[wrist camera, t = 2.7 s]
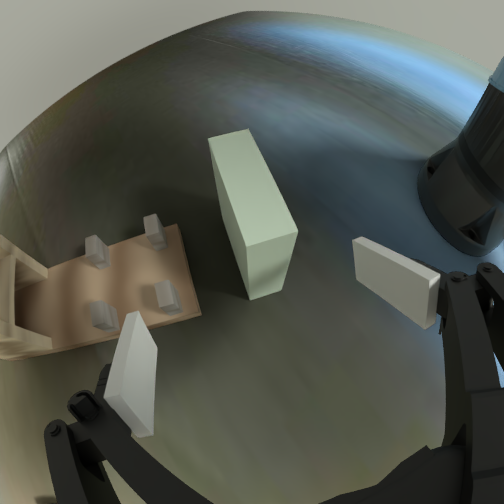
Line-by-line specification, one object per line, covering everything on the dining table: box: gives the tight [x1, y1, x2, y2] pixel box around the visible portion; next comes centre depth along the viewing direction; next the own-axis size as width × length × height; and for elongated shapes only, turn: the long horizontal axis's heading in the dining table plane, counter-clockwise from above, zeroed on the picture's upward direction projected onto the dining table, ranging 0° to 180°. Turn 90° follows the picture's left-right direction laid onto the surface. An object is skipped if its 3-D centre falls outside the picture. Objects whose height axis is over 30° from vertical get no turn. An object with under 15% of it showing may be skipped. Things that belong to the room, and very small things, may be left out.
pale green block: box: [208, 129, 298, 300], centre depth 22 cm, size 4×9×11 cm, turn 18°
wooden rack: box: [0, 213, 202, 361], centre depth 18 cm, size 25×9×15 cm, turn 108°
